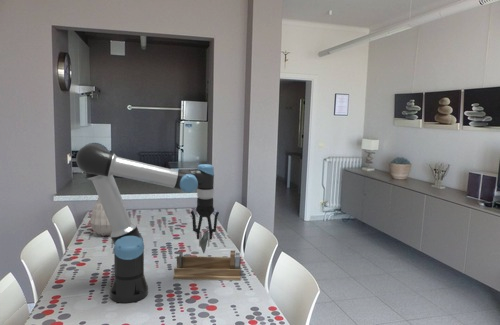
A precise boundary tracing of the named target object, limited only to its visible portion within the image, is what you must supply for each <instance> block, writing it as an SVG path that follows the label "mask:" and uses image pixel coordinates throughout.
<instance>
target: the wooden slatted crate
mask: <svg viewBox="0 0 500 325" xmlns="http://www.w3.org/2000/svg"><path fill="white" fill-rule="evenodd" d="M229 254H230V257H229V256H194V255H193V256H191V255H190V256H189V255H187V256H186V255H183V268H179V255H177V256H176V267H174V268H173V280H192V281H193V280H195V281H196V280H198V281H199V280H201V281H204V280H206V281H207V280H208V281H241V273H242V271H241V264H242V263H241V262H242V257H240V256H241V255H240V254H241V253H240V252H236V250H230V253H229Z"/></svg>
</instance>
